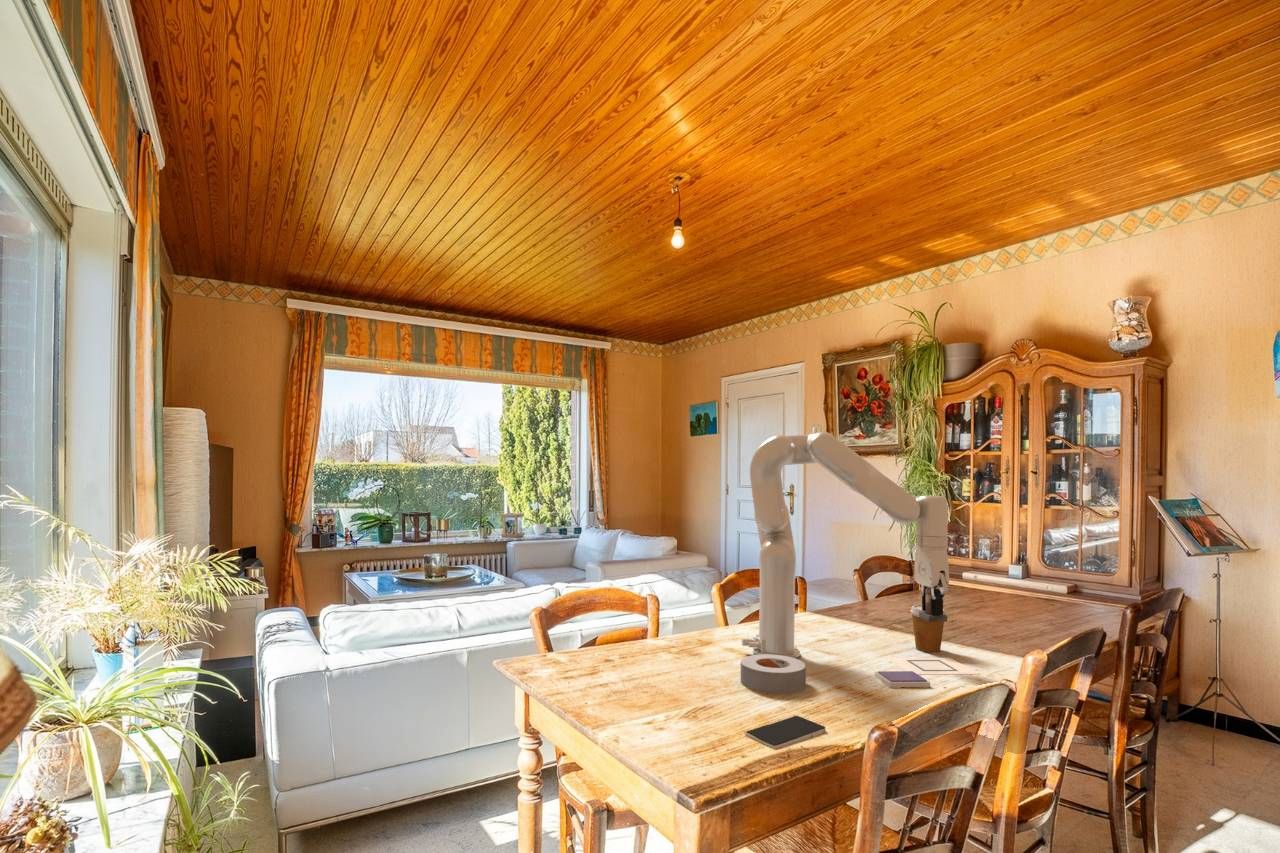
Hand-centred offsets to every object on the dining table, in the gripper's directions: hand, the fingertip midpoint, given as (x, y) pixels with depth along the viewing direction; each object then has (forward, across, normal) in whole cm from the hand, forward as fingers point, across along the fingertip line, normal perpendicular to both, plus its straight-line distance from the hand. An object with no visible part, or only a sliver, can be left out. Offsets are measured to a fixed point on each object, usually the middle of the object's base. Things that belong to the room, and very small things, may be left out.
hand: (932, 611), depth 180 cm
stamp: (+2, 0, 0) cm, 2 cm away
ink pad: (+14, +12, -14) cm, 23 cm away
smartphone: (+15, +42, -52) cm, 68 cm away
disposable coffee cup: (+14, -15, +7) cm, 22 cm away
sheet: (+14, 0, 0) cm, 14 cm away
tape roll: (+14, +12, -46) cm, 50 cm away
